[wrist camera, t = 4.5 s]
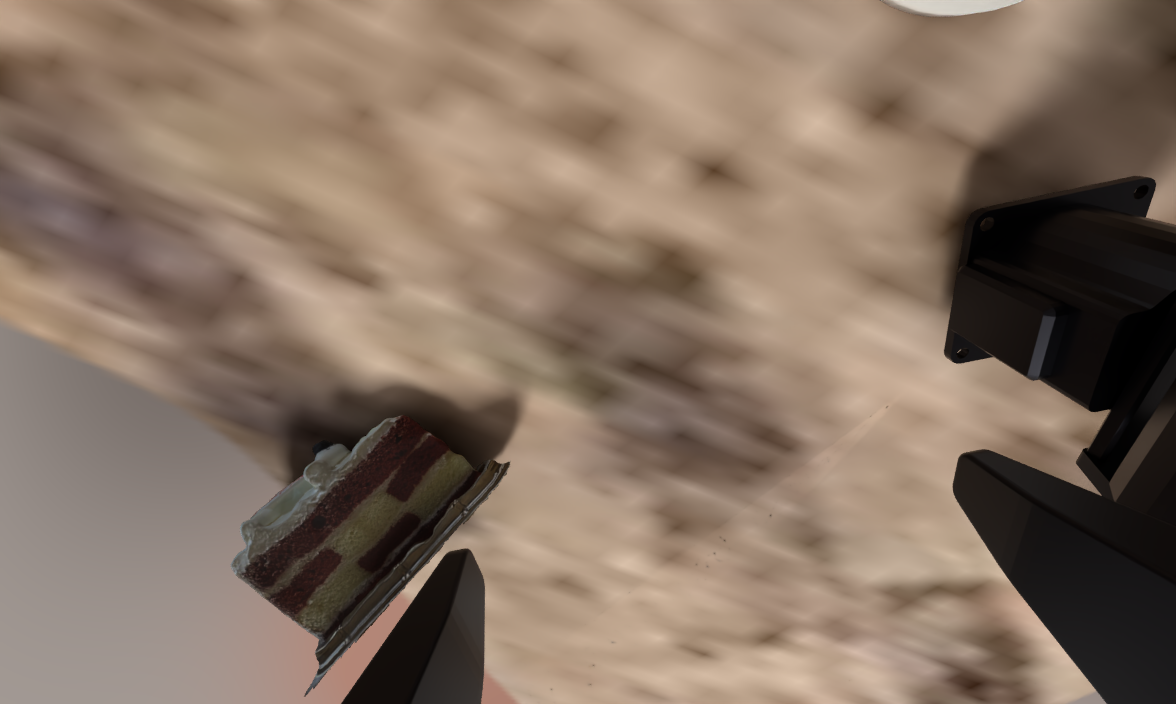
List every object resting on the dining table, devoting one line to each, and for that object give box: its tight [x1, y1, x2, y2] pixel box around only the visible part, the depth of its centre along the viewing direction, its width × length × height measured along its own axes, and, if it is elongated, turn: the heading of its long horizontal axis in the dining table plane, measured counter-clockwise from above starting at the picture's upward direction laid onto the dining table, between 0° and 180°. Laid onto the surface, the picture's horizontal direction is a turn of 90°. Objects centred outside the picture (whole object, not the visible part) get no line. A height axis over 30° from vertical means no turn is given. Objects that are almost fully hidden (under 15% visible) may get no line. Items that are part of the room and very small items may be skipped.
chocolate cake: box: [231, 415, 511, 696], centre depth 23 cm, size 10×7×12 cm
